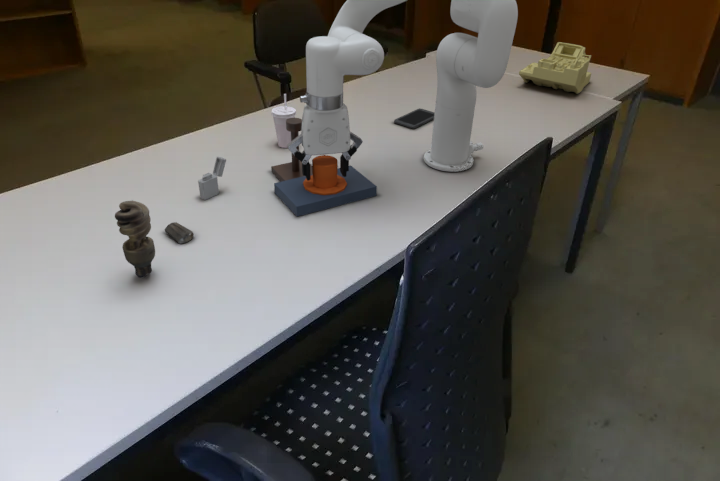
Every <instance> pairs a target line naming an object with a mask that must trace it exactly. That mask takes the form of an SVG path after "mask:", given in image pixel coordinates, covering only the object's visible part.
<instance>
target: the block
mask: <svg viewBox="0 0 720 481" xmlns="http://www.w3.org/2000/svg"><path fill="white" fill-rule="evenodd" d="M164 232H165V233H166V234H167V235H168V236H170V238H172V239H173V240H174V241H175V242H176V243H177V244H185V243H188V242H190V241H192V239H193V237H194V232H193V231H192V230H191V229H189V228H187V227H185V226H184V225H182V224H181V223H179V222H177V221H175V222H174V221H173V222H171V223H169V224H168V225H167V226H166V227H165V228H164Z"/></svg>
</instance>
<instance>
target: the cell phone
mask: <svg viewBox="0 0 720 481" xmlns="http://www.w3.org/2000/svg"><path fill="white" fill-rule="evenodd" d="M434 114H435V111H430V110H428V109H425V108H421V107H420V108H419V107H418V108H417V109H414V110H412V111H410V112H408V113H406V114H404V115H402V116H400V117H397V118H395V119H394V120H393V121H394V124H397V125H400V126H403V127H406V128H409V129H412V130H413V129H417V128H419V127H422V126H423V125H425V124H427V123H429V122H431V121H434Z"/></svg>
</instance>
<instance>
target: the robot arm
mask: <svg viewBox="0 0 720 481" xmlns="http://www.w3.org/2000/svg"><path fill="white" fill-rule="evenodd" d="M405 2H407V0H346V1H345V2H344V3H343V5H342V6H341V7H340V9H339V11H338V12H337V14H336V17H335V18H334V21H333V22H332V24H331V27H330V29H329V31H328V34H327V35H322V36H313V37H312V38H309V39H308V41H307V42H306V45H305V70H306V74H305V75H306V76H305V78H306V91H305V93H304V94H303V95H300V96H299V101H300V103H304V106H303V110H302V116H301V119H302V129H301V131H300V133H299V136H298V137H296V138H295V139H294V140H293V141H291V142H290V143H289V144H288V145H287V147H288V148H287V149H288V150H289V152H290V153H291V155H292V154H294V156H295V157H296V158H297V159H299V160H300V161H301V162H302V173H303V176H306V179H307V181H308V180H311V178H310V164H311V163H310V159H311V158H312V156H322V155H336V154H340V157H339V168H340V172H341V174H342V175H343V176H344V177H346V173H347V171H349V166H350V160H352V159H351V158H352V156H354V155H355V154H356V152H357V151H358V149H359V148H360V146H362V144H363V143H364V142H363V139H362V138H361V137H359V136H358V135H357V134H355V133H354V132H352V131H351V127H350V115H349V110H348V106H347V104H345V103H344V76H367V75H371V74H373V73H375V72H377V71H378V70H379V69H380V68H381V67H382V65H383V63H384V59H385V52H384V49H383V47H382V45H381V43H379V41H377V39H375V38H373V37H371V36H370V35H369V36H368V35H366V34H365V33H364V31H365V29H366V28H367V26H368V24H369V23H370V21H371V20H372V19H373V18H374V17H376V15H378V14H380V13H381V12H383V11H384V10H386V9H388V8H392V7H394V6H397V5H400V4H402V3H405ZM449 14H450V18H451V21H452V22H453V23H454V24H455V25H457V26H458V27H460V28H463V29H466V30H469V31H471V32H474V33H477V36H474V35H471V34H468V33H465V32H454V33H450V34H446V36H445V37H443V38H442V40H441V41H440V42H439V44H438V46H437V50H436V53H435V63H436V64H435V66H436V76H437V78H436V79H437V82H436V83H437V84H436V95H435V96H436V98H435V106H434V113H435V114H434V119H433V125H432V133H431V143H430V144H431V145H430V149H429V150H426V151H425V152H424V155H423V161H424V163H425V164H426V165H427V166H429V167H431V168H433V169H435V170H439V171H442V172H451V173H453V172H454V173H455V172H463V171H467V170H468V169H470V168H471V167H473V165H474V156H473V155H472V154H473V153H475V152H477V151H482V150H483V149H484V145H483V143H482V142H476V143H473V141H472V140H471V137H472V131H473V122H474V118H475V110H476V109H475V108H476V103H477V87H479V88H483V89H489V88H492V87H494V86H496V85H497V84H498V83H499V82H500V81H501V80H502V78H503V77H504V75H505V74H506V70H507V67H508V64H509V60H510V56H511V51H512V47H513V43H514V41H513V40H514V36H515V34H516V28H517V23H518V17H519V9H518V4H517V0H451V2H450V10H449ZM351 141H352V142H353V143H352V144H351ZM298 145H299V146H300V145H301V146H302V148H303V150H302V152H301V151H300V149H299V150H297V149H296V147H297V146H298Z"/></svg>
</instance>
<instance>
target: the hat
mask: <svg viewBox="0 0 720 481" xmlns="http://www.w3.org/2000/svg"><path fill="white" fill-rule="evenodd" d="M311 163H312V164H311V165H312V173H313V175H311V176H310V178H311V180H308V181H307V179H305V180H304V182H303V185H304V188H305V190H307V191H309V192H311V193H313V194H319V195H332V194H337V193H339V192H341V191H343V190H344V189H345V188H346V186H347V183H346V181H345V179H344V178H343V177H341V176H339V175H337V172H338V168H339V167H338V164H339V162H338V159H337V157H335V156H333V155H329V154H326V155H316V156H315V157H313V158H312V160H311Z"/></svg>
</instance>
